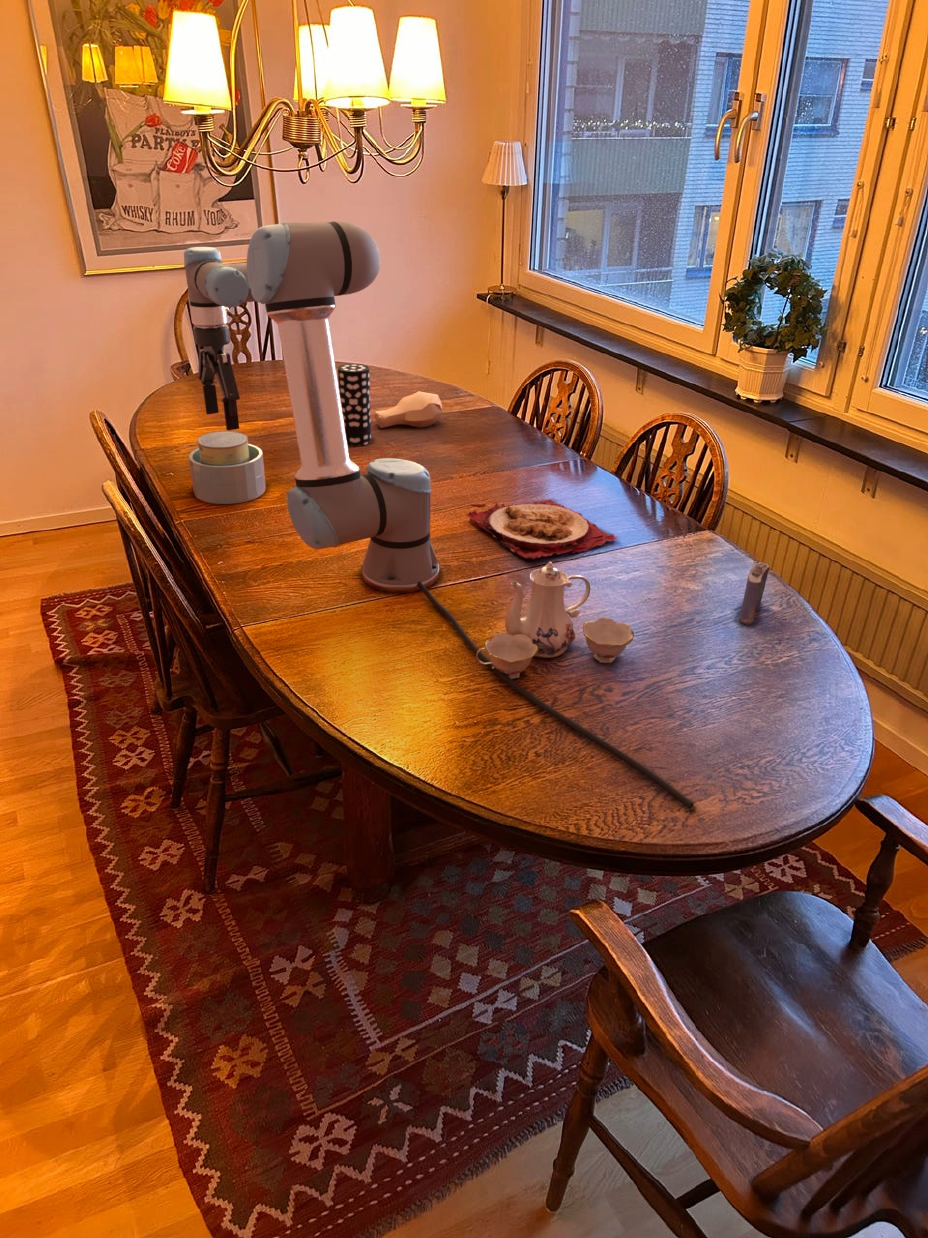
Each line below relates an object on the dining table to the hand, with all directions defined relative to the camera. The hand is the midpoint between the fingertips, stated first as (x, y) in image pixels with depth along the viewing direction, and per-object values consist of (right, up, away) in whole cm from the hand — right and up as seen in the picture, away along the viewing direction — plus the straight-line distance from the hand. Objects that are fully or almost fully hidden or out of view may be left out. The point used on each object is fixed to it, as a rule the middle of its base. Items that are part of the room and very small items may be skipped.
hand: (222, 421), depth 199 cm
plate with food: (+72, -26, -6) cm, 77 cm away
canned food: (-1, -14, +9) cm, 17 cm away
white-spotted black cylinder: (+25, +4, +41) cm, 49 cm away
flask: (+109, -44, -35) cm, 123 cm away
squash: (+39, +11, +54) cm, 68 cm away
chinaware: (+70, -51, -49) cm, 100 cm away
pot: (-1, -14, +9) cm, 17 cm away
